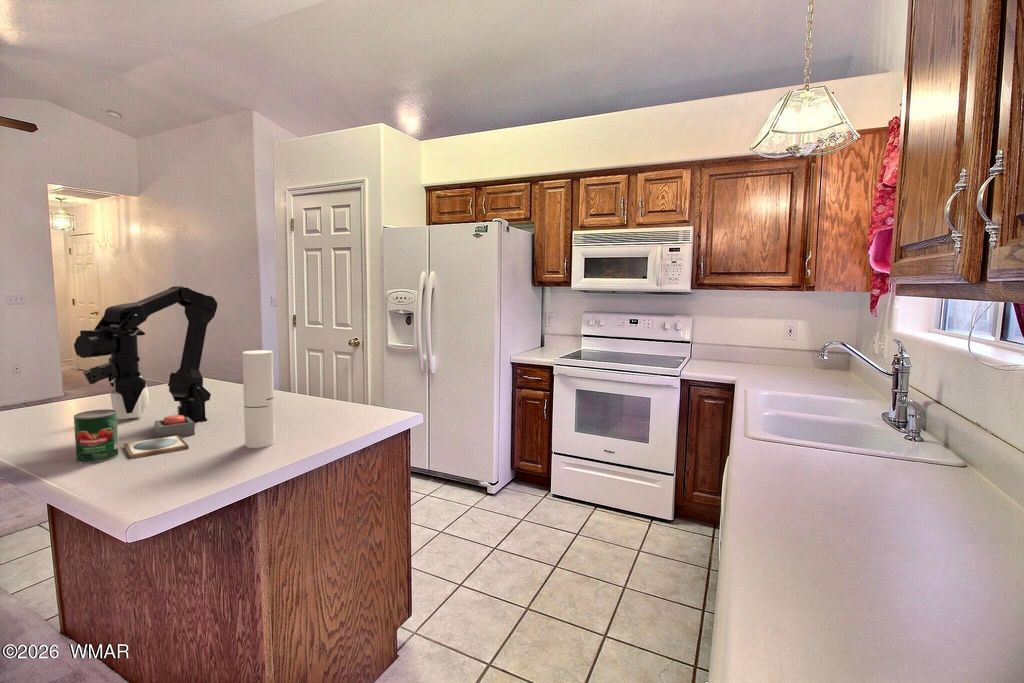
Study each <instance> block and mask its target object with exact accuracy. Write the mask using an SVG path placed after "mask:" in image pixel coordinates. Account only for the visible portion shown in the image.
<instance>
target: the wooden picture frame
mask: <svg viewBox="0 0 1024 683" xmlns="http://www.w3.org/2000/svg"><path fill="white" fill-rule="evenodd" d="M122 445H123V446H124V447H123V448H124V450H125V452H126V451H127V452H126V454H127V453H128V454H127V456H128V455H129V456H128V457H129V459H130V458H132V459H136V458H135V457H137V458H143V457H148V455H149V456H153V455H154V456H155V455H159V453H161V454H166V453H170V452H171V453H172V452H177V451H178V452H179V451H182V450H183V449H184V450H188V449H190V448H189V447H190V446H189V444H188V443H187V442H186V441H185V440H184V439H183V438H182V437H180V436H179V435H176V436H170V437H163V438H158V437H157V438H152V439H146V440H145V439H144V440H138V441H132V442H124V443H123V444H122ZM142 456H143V457H142Z"/></svg>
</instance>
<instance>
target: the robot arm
mask: <svg viewBox="0 0 1024 683" xmlns="http://www.w3.org/2000/svg"><path fill="white" fill-rule="evenodd" d="M176 304H178V305H180V306H181V307H183V308H184V315H185V317H186V319H187V321H188V322H187V328H186V332H185V333H186V334H185V340H184V345H183V349H182V356H181V360H180V366H179V368H178V369H177V371H176V372H170V375H169V381H168V384H167V387H168V392H169V393H170V394H171V396H172V398H173V401H174V402H179V403H178V406H177V408H176V409H177V411H176V412H177V415H183V416H184V417H189V418H190V419H191V420H192V421H193V422H194V423H197V422H198V423H199V422H203V421H208V418H207V417H206V402H208V401H210V400H211V395H212V393H210V392H209V391H208V390H207V389H206V388H205V387H204V385H203V384H204V379H203V375H202V374H201V371H200V365H201V361H202V356H203V351H204V350H203V349H204V344H205V338H206V332H207V328H208V324H210V322H211V321H212V320H213V319H214V317H215V316H216V312H217V309H218V301H217V300H216V299H215V298H214V296H211V295H206V294H203V293H201V292H198V291H195V290H192V289H191V288H189V287H187V286H182V285H181V286H180V285H179V286H177V285H175V286H171V287H168V289H165V290H163V291H160V292H158V293H156V294H154V295H153V294H152V295H150V296H148V297H145V298H143V299H141V300H138V301H135V302H130V303H122V304H116V305H111V306H108V307H107V308H106V309H105V310H104V313H103V316H102V318H101V319H100V320H99V321H98V323H97V325H96V326H95V327H94V329H93V330H87V329H86V330H84V329H82V330H80V331H79V332H80V333H79V335H78V336H77V337H76V339H75V341H74V343H73V349H74V351H75V353H76V355H77V357H80V358H81V359H83V358H84V359H88V358H95V357H105V356H109V358H108V362H107V363H106V362H105V363H104V364H100V365H96V366H94V367H90V368H88V369H86V370H83V371H82V374H83V375H84V377H85V380H87V382H88V384H89V385H93V384H97V383H98V382H100V381H102V380H105V379H107V381H108V382H109V385H110V386H111V387H113V391H116V392H118V393H119V394H121V395H122V399H123V402H124V406H125V409H126V412H127V413H132V411H133V409H134V407H135V405H136V403H137V401H138V398H139V396H140V394H141V392H142V390H143V389H144V388H146V386H147V384H146V383H147V382H146V379H144V378H143V377H142V376H141V372H140V371H139V370H140V368H139V367H140V365H139V362H140V356H139V348H138V336H139V337H140V336H145V335H146V332H144V331H143V330H141V329H140V328H139V326H140V325H142V324H143V323H145V322H146V321H147V319H148V318H149V317H150V316H151V315H153V314H155V313H157V312H160V311H162V310H164V309H166V308H169V307H171V306H174V305H176ZM140 376H141V377H142V378H141V377H140Z"/></svg>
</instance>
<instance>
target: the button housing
mask: <svg viewBox="0 0 1024 683" xmlns="http://www.w3.org/2000/svg"><path fill="white" fill-rule="evenodd" d="M184 419H185V423H180V424H173V425H166V426H164V419H162V420H161V419H159V420H155V421H153V422H154V434H155V433H156V434H155V436H157V438H158V437H159V438H163V437H170V436H176V435H179V436H182V437H186V436H185V435H188V436H192V435H191V434H194V435H195V434H196V431H195V422H193V421H192V420H191V419H190V418H189V417H184Z"/></svg>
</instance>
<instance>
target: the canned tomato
mask: <svg viewBox="0 0 1024 683" xmlns="http://www.w3.org/2000/svg"><path fill="white" fill-rule="evenodd" d="M73 421H74V422H73V424H74V426H73V427H74V438H75V439H74V440H75V441H74V442H75V443H74V444H75V456H76V459H75V462H76V461H77V462H76V463H78V462H81V463H80V464H92V463H91V462H97V463H100V462H99V461H103V462H106V461H105V460H107V461H109V460H108V459H110V460H112V459H111V458H113V459H116V458H117V457H119V455H120V453H119V434H118V433H119V432H118V419H117V411H116V410H113V409H106V408H105V409H94V410H92V409H91V410H88V411H82V412H78V413H75V414H74V415H73ZM116 456H117V457H116Z"/></svg>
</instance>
